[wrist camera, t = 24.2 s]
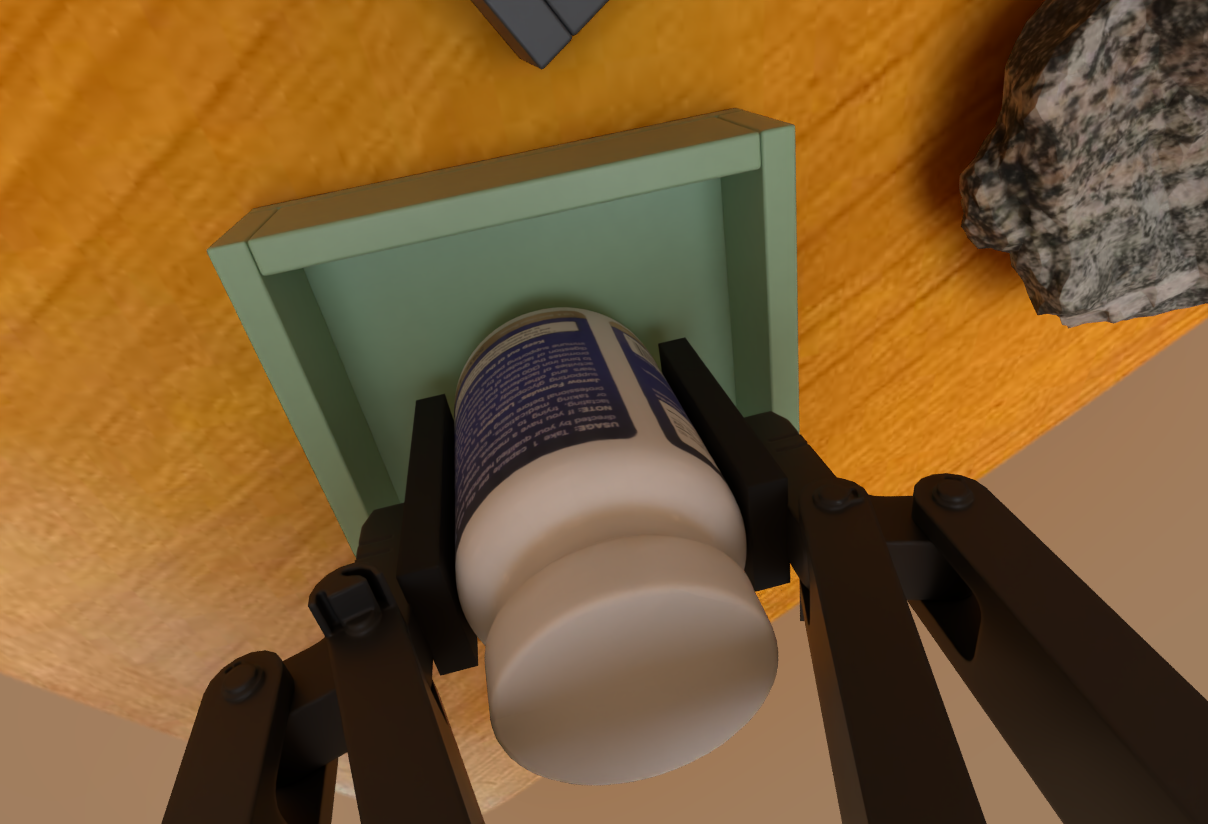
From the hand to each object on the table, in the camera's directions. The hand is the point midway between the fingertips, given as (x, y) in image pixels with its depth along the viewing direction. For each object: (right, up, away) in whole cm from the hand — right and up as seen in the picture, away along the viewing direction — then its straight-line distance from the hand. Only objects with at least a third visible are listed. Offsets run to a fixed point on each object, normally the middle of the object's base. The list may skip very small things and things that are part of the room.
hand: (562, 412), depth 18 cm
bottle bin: (0, +1, +2) cm, 3 cm away
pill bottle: (0, +1, +1) cm, 1 cm away
